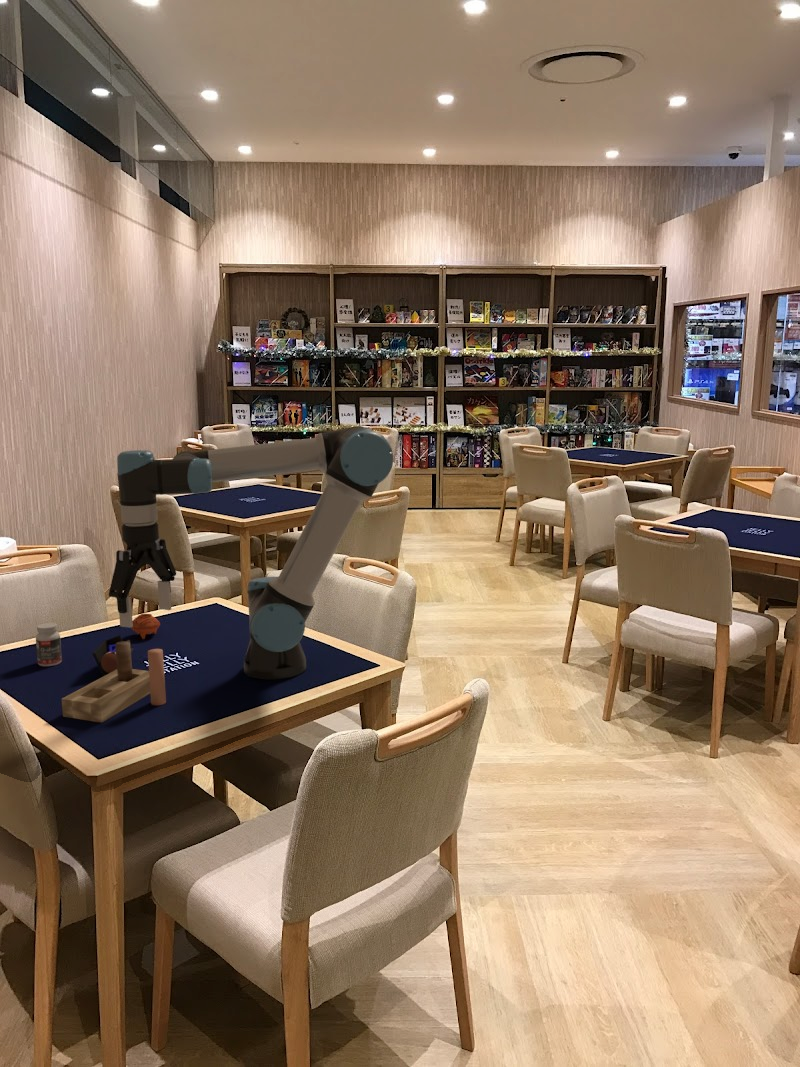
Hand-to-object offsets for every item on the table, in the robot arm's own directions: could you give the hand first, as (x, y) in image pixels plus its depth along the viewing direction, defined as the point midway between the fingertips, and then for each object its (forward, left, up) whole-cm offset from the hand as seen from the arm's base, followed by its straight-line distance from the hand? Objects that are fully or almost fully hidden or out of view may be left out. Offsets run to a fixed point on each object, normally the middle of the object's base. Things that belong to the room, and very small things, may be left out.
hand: (146, 617), depth 188 cm
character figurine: (+20, -13, -19) cm, 31 cm away
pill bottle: (+39, -12, -19) cm, 45 cm away
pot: (+29, -38, -19) cm, 51 cm away
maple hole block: (+8, +4, -19) cm, 21 cm away
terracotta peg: (-2, +1, -19) cm, 19 cm away
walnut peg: (+8, -1, -19) cm, 21 cm away
